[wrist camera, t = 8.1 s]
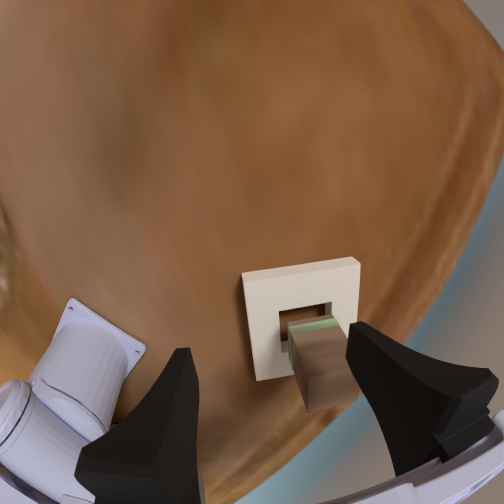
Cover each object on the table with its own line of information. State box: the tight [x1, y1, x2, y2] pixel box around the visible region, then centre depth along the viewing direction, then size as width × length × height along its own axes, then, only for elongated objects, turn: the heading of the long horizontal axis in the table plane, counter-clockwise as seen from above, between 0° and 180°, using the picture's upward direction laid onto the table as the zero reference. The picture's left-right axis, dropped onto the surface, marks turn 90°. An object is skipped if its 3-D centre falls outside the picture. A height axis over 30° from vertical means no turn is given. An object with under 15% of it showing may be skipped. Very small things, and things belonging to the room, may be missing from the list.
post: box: [287, 314, 360, 413], centre depth 19 cm, size 4×4×6 cm
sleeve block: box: [242, 257, 361, 381], centre depth 23 cm, size 10×9×2 cm
